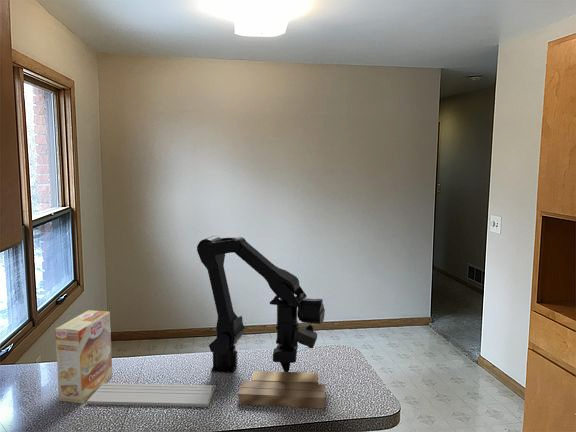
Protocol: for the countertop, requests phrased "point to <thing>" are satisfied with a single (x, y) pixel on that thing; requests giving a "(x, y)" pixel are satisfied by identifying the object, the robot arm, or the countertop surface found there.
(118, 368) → the countertop surface
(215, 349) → the robot arm
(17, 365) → the countertop surface
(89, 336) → the coffeecake box
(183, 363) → the countertop surface
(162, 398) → the baseboard molding
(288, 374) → the plank
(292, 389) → the floor board
